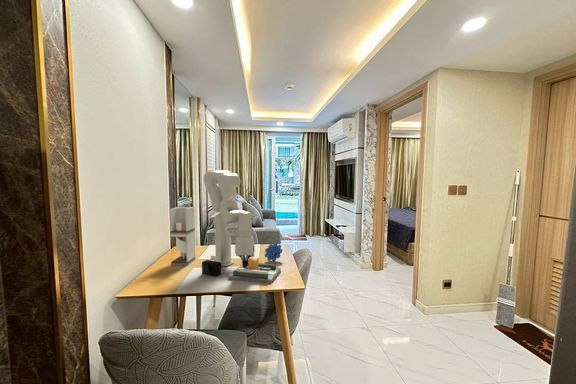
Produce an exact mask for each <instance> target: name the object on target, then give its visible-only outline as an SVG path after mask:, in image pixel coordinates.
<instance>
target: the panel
mask: <svg viewBox="0 0 576 384" xmlns="http://www.w3.org/2000/svg"><path fill="white" fill-rule="evenodd" d="M237 268H238V269H248V266H247V267H246V268H245V267H243V265H242V264H241V265H240V266H238V267H237ZM237 268H236V269H235V270H237ZM259 269H260V271H268V278H258V277H248V276H238V275H233V271H231V272H230V273H228V274H227V280H233V281H243V282H254V283H262V284H263V283H264V284H272V283H273V281H275V279H276V278H277V277H278V276H279V274H280V273H281V271H282V269H281V267H276V269H271V268H260V267H259Z"/></svg>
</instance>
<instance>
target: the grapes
mask: <svg viewBox="0 0 576 384" xmlns="http://www.w3.org/2000/svg"><path fill="white" fill-rule="evenodd" d="M264 252H265V253H264V257H265V258H266V259H267V261H269V262H271V261H272V262H275V261H277V259H280V258H281V254H282V253H283V249H282V245H281V244H278V243H277V242H273V244H272V243H270V244H268V246H267V248H265V249H264Z"/></svg>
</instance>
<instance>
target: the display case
mask: <svg viewBox="0 0 576 384" xmlns="http://www.w3.org/2000/svg"><path fill="white" fill-rule="evenodd" d="M195 215H196V214H195V206H177V207H172V208H169V219H170V220H169V225H170V233H169V234H170V237H171V238H172V237H173V238H174V237H175V248H176V249H177V251H179V252H180V256H178V257H177V258H175V259H173V260H172V261H171V263H170V265H171V266H189V265H191V264H192V263H193V262H194V261H195V260H196V225H195V223H196V221H195V220H196V218H195V217H196V216H195Z"/></svg>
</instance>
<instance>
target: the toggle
mask: <svg viewBox="0 0 576 384" xmlns="http://www.w3.org/2000/svg"><path fill="white" fill-rule="evenodd" d="M258 263H259V257H250V258H249V259H248V269H249V270H260V269H259V266H258Z"/></svg>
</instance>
